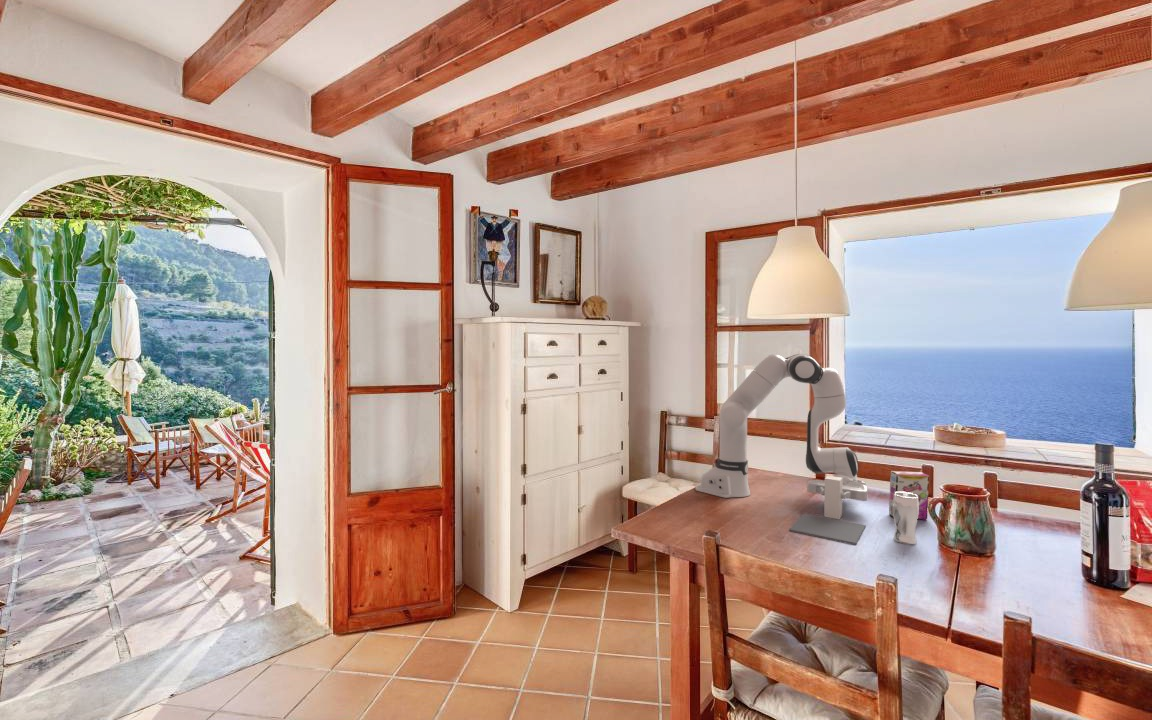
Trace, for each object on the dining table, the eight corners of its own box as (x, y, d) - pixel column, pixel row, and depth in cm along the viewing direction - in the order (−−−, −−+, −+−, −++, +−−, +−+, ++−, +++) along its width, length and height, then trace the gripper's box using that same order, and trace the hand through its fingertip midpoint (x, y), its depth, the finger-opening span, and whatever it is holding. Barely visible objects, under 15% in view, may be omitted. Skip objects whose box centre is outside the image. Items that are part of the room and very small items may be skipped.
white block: (824, 516, 188) (824, 478, 187) (827, 512, 192) (827, 475, 191) (839, 519, 185) (840, 480, 184) (842, 515, 189) (842, 477, 188)
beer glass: (908, 546, 160) (909, 498, 160) (887, 538, 167) (888, 492, 166) (923, 543, 163) (924, 496, 162) (901, 535, 169) (903, 490, 169)
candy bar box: (895, 519, 185) (896, 474, 185) (888, 514, 190) (889, 470, 190) (928, 520, 184) (929, 475, 184) (920, 515, 189) (921, 471, 188)
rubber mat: (789, 530, 174) (789, 529, 174) (803, 515, 190) (803, 513, 190) (856, 544, 162) (856, 543, 162) (865, 526, 178) (865, 525, 178)
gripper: (811, 474, 205) (802, 481, 193) (870, 482, 192) (864, 491, 181) (811, 489, 205) (802, 498, 194) (869, 499, 192) (864, 508, 181)
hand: (833, 494), depth 187 cm, fingers closed on white block, 5 cm apart
